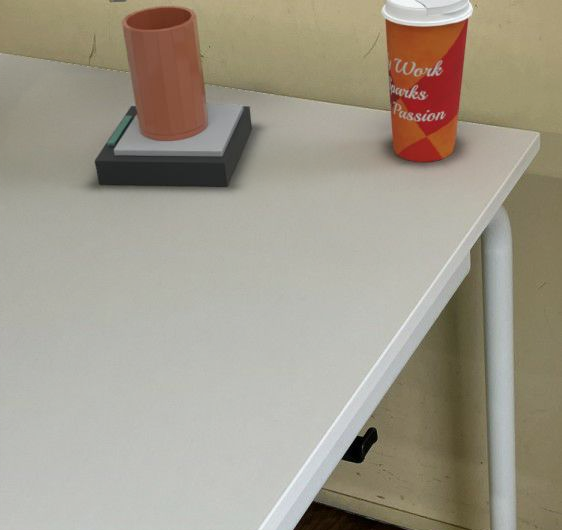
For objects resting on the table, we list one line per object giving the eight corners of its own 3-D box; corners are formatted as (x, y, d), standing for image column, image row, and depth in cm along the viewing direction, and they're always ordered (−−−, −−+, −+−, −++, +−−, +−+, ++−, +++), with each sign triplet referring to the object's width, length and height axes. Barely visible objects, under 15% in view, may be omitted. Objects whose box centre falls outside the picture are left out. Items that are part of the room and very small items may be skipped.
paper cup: (364, 150, 94) (362, -3, 85) (420, 123, 97) (423, -26, 89) (428, 176, 89) (432, 16, 80) (484, 146, 93) (494, -9, 84)
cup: (131, 140, 92) (112, 31, 85) (150, 111, 97) (133, 6, 90) (199, 141, 91) (185, 30, 84) (214, 112, 95) (202, 5, 89)
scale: (98, 184, 92) (92, 154, 90) (134, 128, 101) (130, 99, 99) (227, 186, 90) (223, 155, 88) (252, 129, 99) (249, 99, 97)
